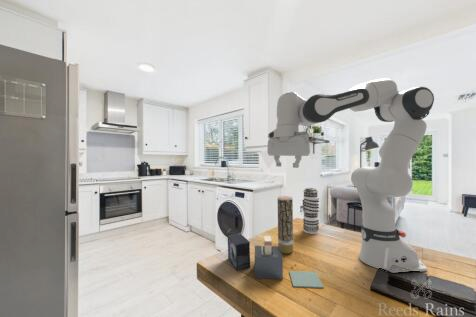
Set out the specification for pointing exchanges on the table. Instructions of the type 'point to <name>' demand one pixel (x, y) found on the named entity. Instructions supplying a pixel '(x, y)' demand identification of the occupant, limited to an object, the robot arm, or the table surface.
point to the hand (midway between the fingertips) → (286, 167)
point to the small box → (239, 251)
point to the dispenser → (268, 263)
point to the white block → (267, 245)
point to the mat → (305, 279)
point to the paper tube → (285, 224)
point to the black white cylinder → (310, 211)
